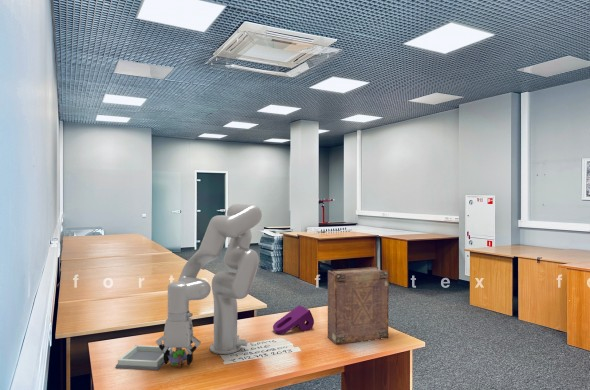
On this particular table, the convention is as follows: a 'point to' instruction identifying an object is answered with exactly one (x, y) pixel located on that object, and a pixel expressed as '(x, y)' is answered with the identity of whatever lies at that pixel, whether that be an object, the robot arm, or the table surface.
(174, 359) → the geometric puzzle
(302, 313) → the mounting bracket
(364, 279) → the book
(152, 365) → the shallow square tray
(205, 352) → the table surface
